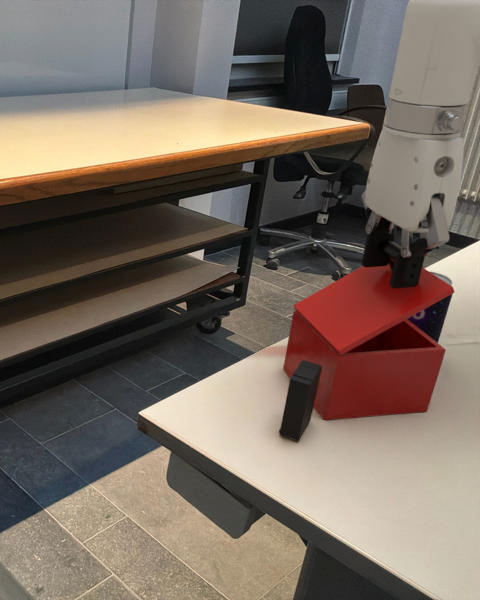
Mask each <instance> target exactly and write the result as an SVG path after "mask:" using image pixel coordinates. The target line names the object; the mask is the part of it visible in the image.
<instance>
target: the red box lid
mask: <svg viewBox="0 0 480 600" xmlns="http://www.w3.org/2000/svg"><path fill="white" fill-rule="evenodd" d="M378 251H379V252H380V253H381V254H383V255H384V256H386V258H387V260H388V265H387V266H380V267H364V266H363V265H361V266H360V267H358V268H356V269H355V270H353V271H351V272H349V273H348V274H346V275H345V276H342V277H340V278H339V279H337V280H336V281H334V282H332V283H330V284H328V285H326V286H325V287H323V288H322V289H319V290H318V291H316V292H314V293H312V294H311V295H309V296H308V297H305V298H304V299H301V300H300V301H298V302H297V303H295V304H293V309H294V311H297V312H298V313H299V314H300V315H301V316H302V317H303V318H304V319H305V320H306V321H307V322H308V323H309V324H310V325H311V326H312V327H313V328H314V329H315V330H316V331H317V332H318V333H319V334H320V335H321V336H322V337H323V338H324V339H325V340H326V342H327V343H328V344H329V345H330V346H331V347H332V348H333V349H334V350H335V351H336V352H337V353H338V354H339V355H343V354H344V353H346V352H348V351H350V350H352V349H353V348H355V347H357V346H359V345H361V344H362V343H364V342H366V341H368V340H370V339H371V338H373V337H375V336H377V335H379V334H380V333H382V332H384V331H386V330H388V329H389V328H391V327H393V326H395V325H397V324H398V323H400V322H402V321H404V320H406V319H407V318H409V317H411V316H413V315H415V314H416V313H418V312H420V311H422V310H424V309H426V308H427V307H429V306H431V305H433V304H435V303H436V302H438V301H440V300H442V299H444V298H445V297H447V296H449V295H451V294H454V293H455V289H454V287H453V286H452V285H449V284H447V283H446V282H444V281H443V280H441V279H440V278H438V277H437V276H435V275H434V274H432V273H430V272H431V271H430V272H429V270H427V269H426V268H424V266H422V270H421V274H420V278H419V282H418V285H417V286H416V287H407V288H392V287H391V286H390V279H391V275H392V270H393V266H394V261H395V257H396V254H401V245H399V244H397V243H396V242H394V241H393V242H392V241H391V240H389V239H385V240H383V241H381V242H380V243H379V245H378Z"/></svg>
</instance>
